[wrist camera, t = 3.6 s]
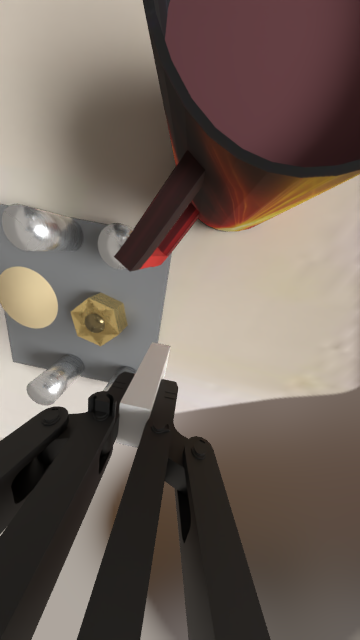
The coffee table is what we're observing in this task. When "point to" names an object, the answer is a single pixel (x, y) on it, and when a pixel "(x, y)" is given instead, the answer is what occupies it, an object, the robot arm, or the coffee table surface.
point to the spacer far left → (55, 380)
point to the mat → (76, 304)
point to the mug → (249, 112)
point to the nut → (99, 319)
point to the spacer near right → (113, 243)
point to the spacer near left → (40, 229)
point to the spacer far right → (119, 371)
